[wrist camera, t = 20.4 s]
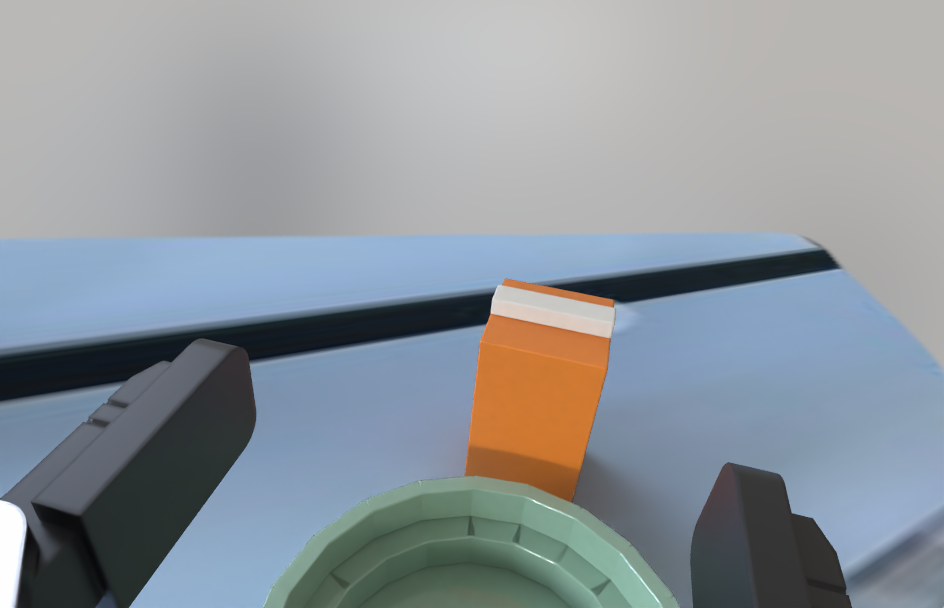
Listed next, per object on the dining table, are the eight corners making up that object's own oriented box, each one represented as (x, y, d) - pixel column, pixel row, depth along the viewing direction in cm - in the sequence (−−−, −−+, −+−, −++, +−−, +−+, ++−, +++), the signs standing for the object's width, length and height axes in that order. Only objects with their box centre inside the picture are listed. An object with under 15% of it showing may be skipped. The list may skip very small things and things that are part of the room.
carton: (462, 495, 30) (481, 324, 24) (485, 422, 34) (506, 262, 28) (566, 521, 29) (612, 351, 23) (577, 444, 33) (618, 284, 27)
